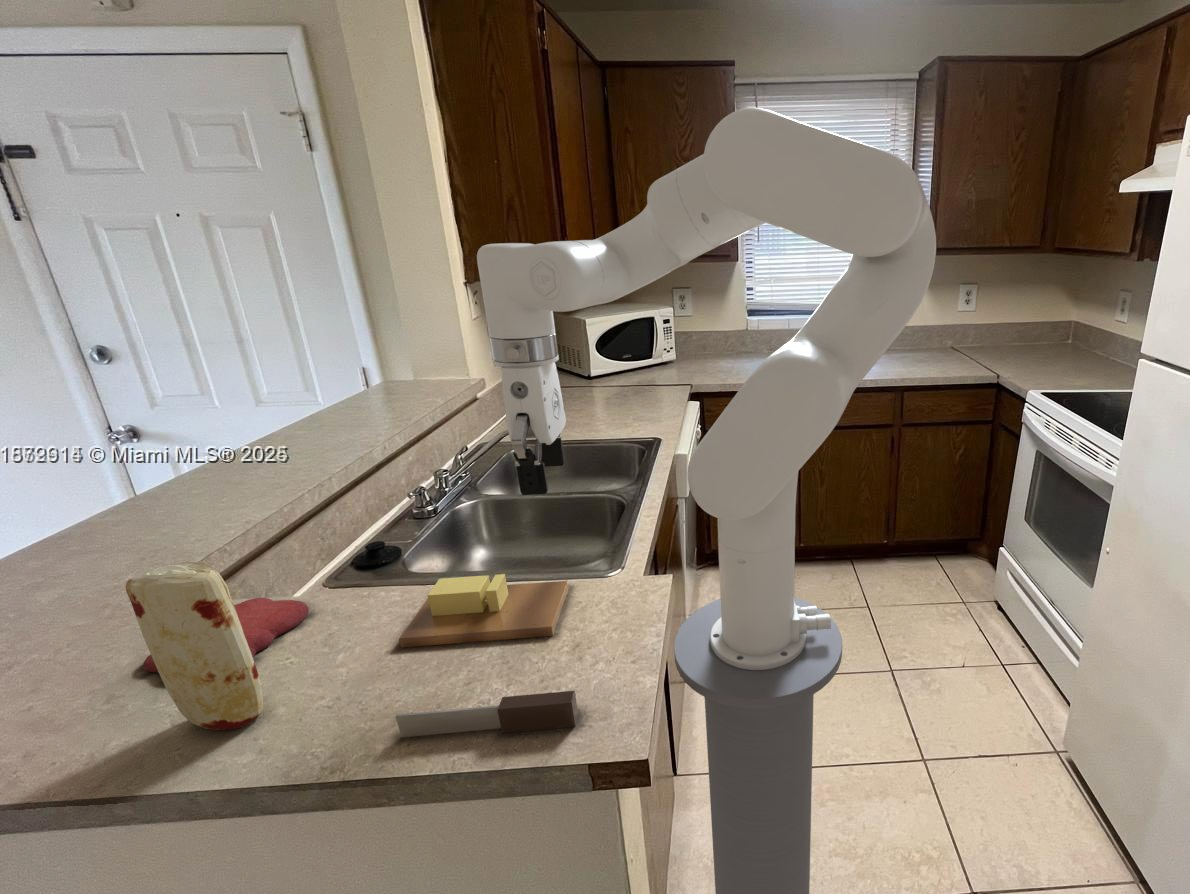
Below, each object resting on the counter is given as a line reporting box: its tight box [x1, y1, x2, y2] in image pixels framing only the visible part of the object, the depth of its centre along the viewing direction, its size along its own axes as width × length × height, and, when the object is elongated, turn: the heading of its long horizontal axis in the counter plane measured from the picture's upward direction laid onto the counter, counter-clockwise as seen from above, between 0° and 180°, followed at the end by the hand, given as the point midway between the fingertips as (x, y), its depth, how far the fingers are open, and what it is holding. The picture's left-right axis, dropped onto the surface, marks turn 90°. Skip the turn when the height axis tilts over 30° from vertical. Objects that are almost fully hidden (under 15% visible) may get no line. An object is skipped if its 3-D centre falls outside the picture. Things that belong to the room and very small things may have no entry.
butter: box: [427, 574, 491, 616], centre depth 89 cm, size 7×4×4 cm, turn 97°
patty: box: [142, 597, 310, 673], centre depth 84 cm, size 18×14×2 cm
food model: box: [125, 561, 264, 731], centre depth 67 cm, size 10×7×20 cm
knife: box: [395, 690, 579, 738], centre depth 68 cm, size 19×2×3 cm, turn 97°
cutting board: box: [398, 580, 570, 648], centre depth 89 cm, size 20×12×2 cm, turn 97°
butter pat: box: [486, 573, 508, 612], centre depth 89 cm, size 1×4×4 cm, turn 7°
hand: (544, 478), depth 81 cm, fingers open, 9 cm apart
